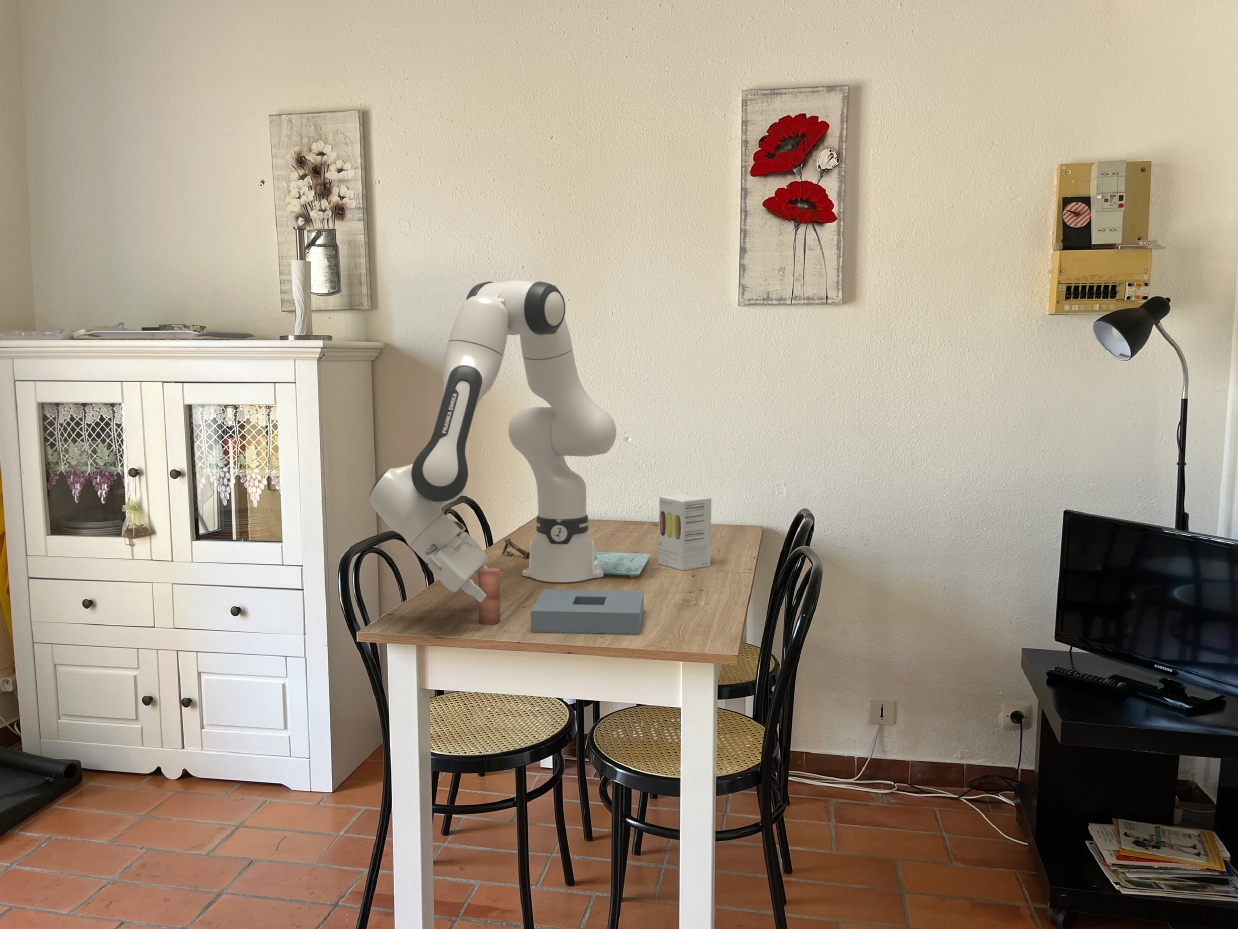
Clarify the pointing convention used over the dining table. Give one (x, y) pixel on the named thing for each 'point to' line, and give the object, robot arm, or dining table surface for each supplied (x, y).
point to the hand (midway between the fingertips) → (489, 592)
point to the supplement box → (684, 531)
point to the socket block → (588, 611)
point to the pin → (489, 596)
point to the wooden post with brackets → (508, 542)
